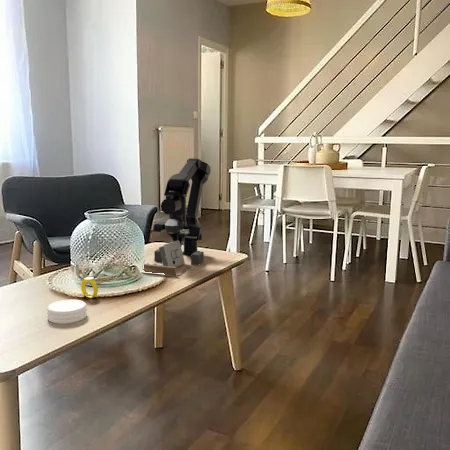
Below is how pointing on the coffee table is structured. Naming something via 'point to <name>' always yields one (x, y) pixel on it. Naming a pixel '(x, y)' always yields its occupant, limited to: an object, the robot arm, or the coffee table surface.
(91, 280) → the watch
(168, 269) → the bay
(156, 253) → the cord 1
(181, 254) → the electrical switch
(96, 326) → the coffee table surface
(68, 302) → the coaster
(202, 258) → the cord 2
